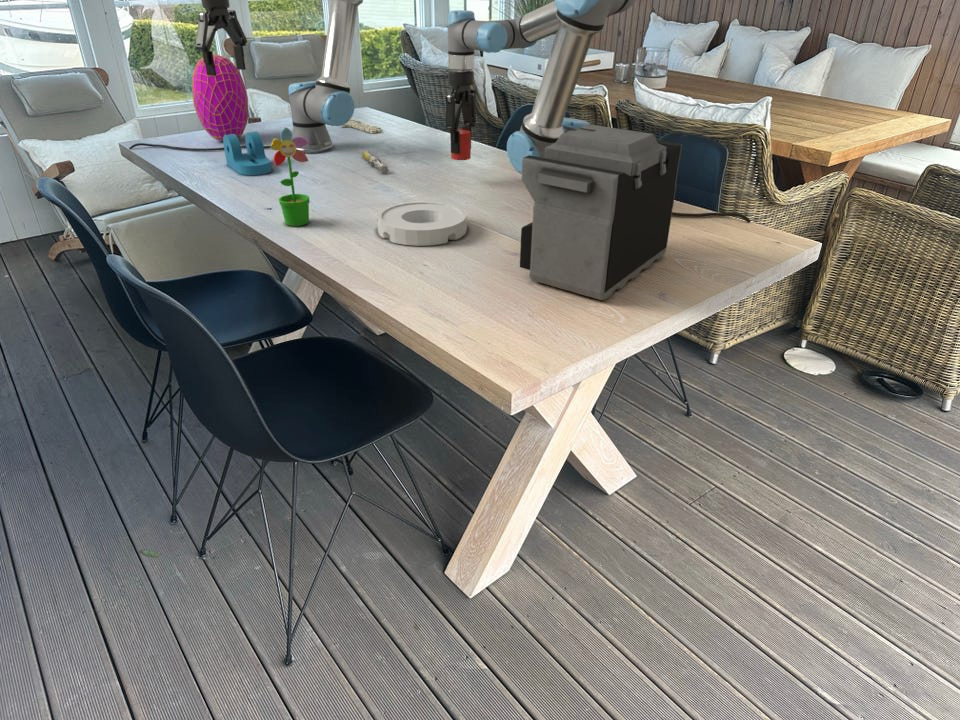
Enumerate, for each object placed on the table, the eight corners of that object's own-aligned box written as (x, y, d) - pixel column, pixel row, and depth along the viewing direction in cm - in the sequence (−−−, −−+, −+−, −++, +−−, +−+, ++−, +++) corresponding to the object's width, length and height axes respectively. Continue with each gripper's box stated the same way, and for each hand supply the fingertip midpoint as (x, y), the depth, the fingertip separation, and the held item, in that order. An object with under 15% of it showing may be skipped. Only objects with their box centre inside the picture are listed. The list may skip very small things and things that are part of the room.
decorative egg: (239, 132, 274) (226, 50, 259) (262, 141, 262) (250, 56, 247) (192, 139, 263) (176, 54, 248) (214, 149, 251) (198, 60, 236)
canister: (473, 156, 214) (473, 130, 210) (466, 161, 209) (466, 134, 205) (455, 154, 216) (455, 128, 212) (448, 159, 211) (447, 132, 207)
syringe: (360, 156, 244) (360, 148, 243) (371, 155, 246) (370, 147, 244) (377, 174, 224) (377, 166, 223) (389, 173, 226) (388, 165, 224)
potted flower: (284, 229, 179) (270, 130, 166) (277, 220, 185) (263, 124, 172) (319, 224, 183) (308, 127, 170) (311, 215, 188) (300, 121, 176)
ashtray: (385, 214, 190) (384, 200, 188) (468, 216, 189) (468, 202, 187) (371, 244, 170) (369, 229, 168) (464, 246, 170) (464, 231, 167)
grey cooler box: (589, 234, 178) (601, 114, 162) (670, 254, 167) (691, 126, 151) (511, 281, 152) (516, 142, 137) (601, 307, 141) (617, 160, 126)
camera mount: (227, 164, 233) (221, 132, 227) (257, 160, 238) (252, 129, 233) (244, 176, 220) (239, 143, 215) (276, 172, 225) (271, 139, 220)
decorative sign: (331, 121, 290) (351, 118, 296) (331, 123, 291) (352, 120, 296) (366, 132, 273) (387, 128, 279) (366, 134, 274) (387, 131, 280)
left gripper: (194, -6, 185) (209, 78, 196) (252, -9, 205) (262, 67, 216) (172, -6, 188) (188, 77, 198) (231, -10, 208) (242, 66, 218)
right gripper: (467, 65, 208) (467, 142, 220) (431, 72, 194) (433, 155, 206) (488, 67, 205) (487, 146, 217) (454, 75, 191) (454, 159, 203)
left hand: (226, 72), depth 207 cm, fingers open, 13 cm apart
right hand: (461, 150), depth 211 cm, fingers closed on canister, 6 cm apart
